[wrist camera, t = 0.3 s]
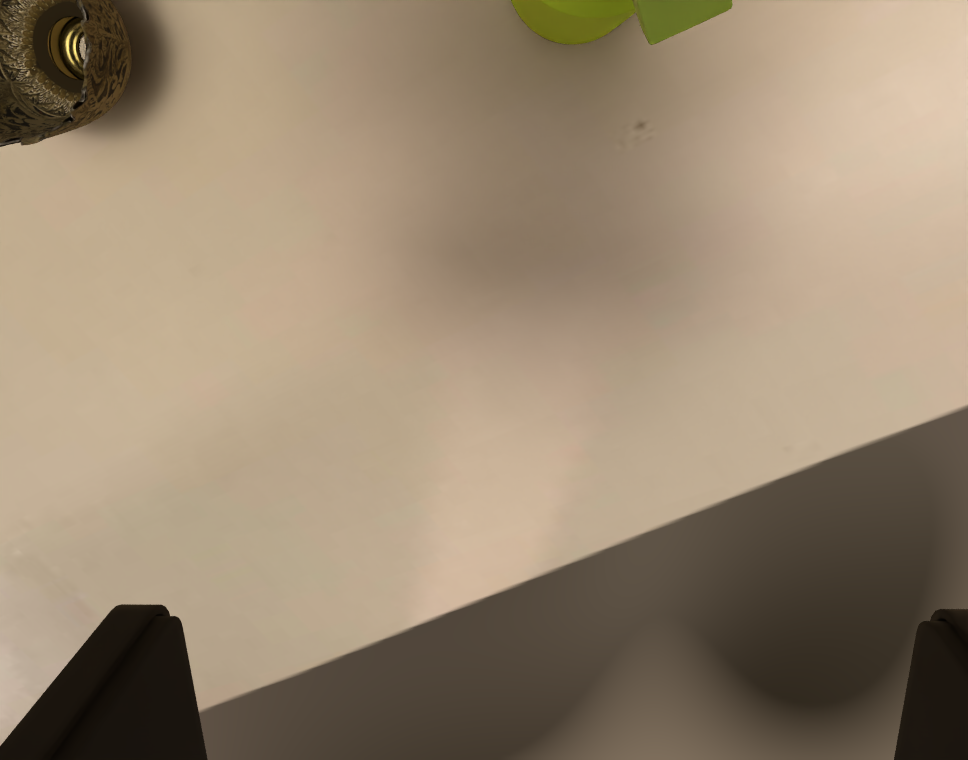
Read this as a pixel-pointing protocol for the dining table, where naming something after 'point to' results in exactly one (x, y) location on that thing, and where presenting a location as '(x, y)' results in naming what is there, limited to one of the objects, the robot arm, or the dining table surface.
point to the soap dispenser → (614, 17)
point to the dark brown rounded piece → (58, 66)
